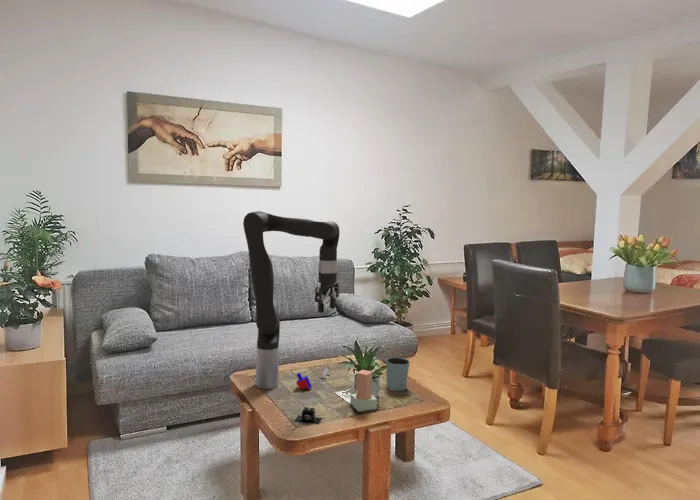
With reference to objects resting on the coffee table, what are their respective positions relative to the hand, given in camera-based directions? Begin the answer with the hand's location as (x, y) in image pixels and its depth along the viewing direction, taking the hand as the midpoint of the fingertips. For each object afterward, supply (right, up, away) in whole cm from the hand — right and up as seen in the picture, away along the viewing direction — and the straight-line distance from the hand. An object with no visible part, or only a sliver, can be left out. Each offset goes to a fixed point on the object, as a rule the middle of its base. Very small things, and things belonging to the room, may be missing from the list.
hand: (326, 310), depth 211 cm
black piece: (-6, -39, -19) cm, 44 cm away
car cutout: (-3, -34, +22) cm, 41 cm away
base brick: (+15, -37, -6) cm, 41 cm away
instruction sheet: (+10, -36, +4) cm, 38 cm away
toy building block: (-10, -35, +11) cm, 38 cm away
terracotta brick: (+15, -33, -6) cm, 37 cm away
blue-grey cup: (+30, -36, +16) cm, 49 cm away
